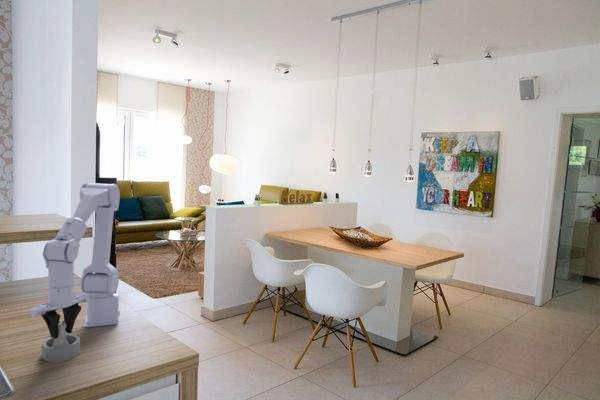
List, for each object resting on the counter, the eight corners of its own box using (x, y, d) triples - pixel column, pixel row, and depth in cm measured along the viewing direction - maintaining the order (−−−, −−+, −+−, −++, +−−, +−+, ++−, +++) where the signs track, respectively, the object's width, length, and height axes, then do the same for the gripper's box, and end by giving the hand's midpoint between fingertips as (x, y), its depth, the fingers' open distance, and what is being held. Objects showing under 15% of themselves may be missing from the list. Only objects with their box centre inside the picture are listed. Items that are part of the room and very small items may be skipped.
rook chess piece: (60, 346, 114) (60, 318, 113) (73, 349, 113) (73, 321, 112) (46, 353, 110) (46, 324, 109) (59, 356, 108) (59, 327, 108)
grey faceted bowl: (81, 344, 117) (81, 332, 116) (78, 359, 109) (78, 346, 108) (45, 348, 113) (45, 336, 113) (39, 363, 105) (39, 350, 105)
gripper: (78, 276, 117) (78, 322, 119) (23, 288, 105) (23, 340, 106) (94, 280, 114) (93, 328, 115) (39, 294, 101) (39, 348, 103)
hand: (61, 334), depth 110 cm, fingers closed on rook chess piece, 3 cm apart
